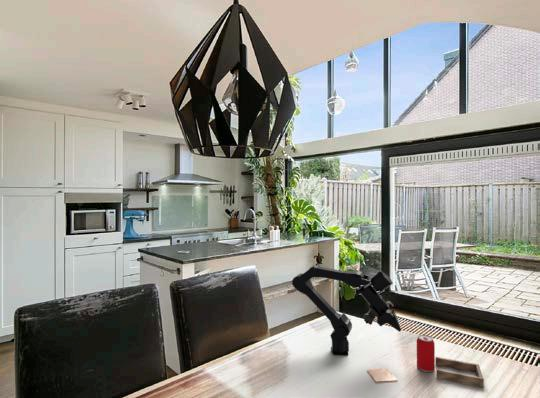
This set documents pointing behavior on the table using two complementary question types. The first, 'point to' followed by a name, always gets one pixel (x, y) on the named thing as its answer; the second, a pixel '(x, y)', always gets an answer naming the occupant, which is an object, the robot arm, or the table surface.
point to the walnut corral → (459, 372)
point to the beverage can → (425, 353)
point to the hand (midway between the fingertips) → (400, 330)
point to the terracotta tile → (382, 375)
